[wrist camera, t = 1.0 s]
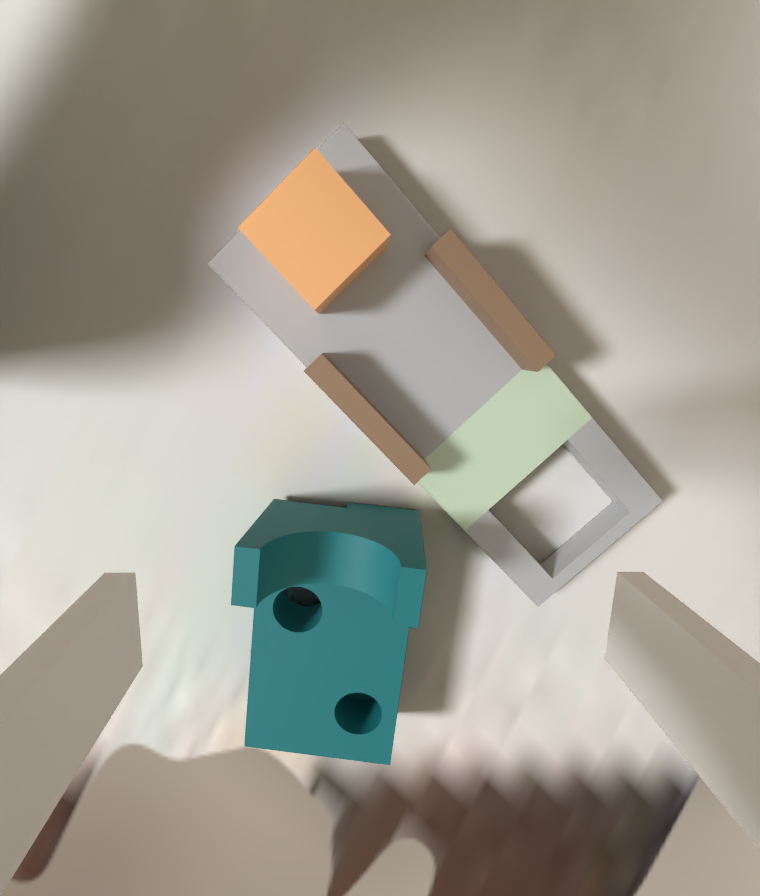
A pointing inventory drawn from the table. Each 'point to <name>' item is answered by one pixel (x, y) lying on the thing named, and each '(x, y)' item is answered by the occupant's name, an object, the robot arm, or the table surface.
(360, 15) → the table surface
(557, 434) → the deck
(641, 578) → the robot arm
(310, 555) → the teal l-shaped bracket
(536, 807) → the table surface
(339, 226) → the block
